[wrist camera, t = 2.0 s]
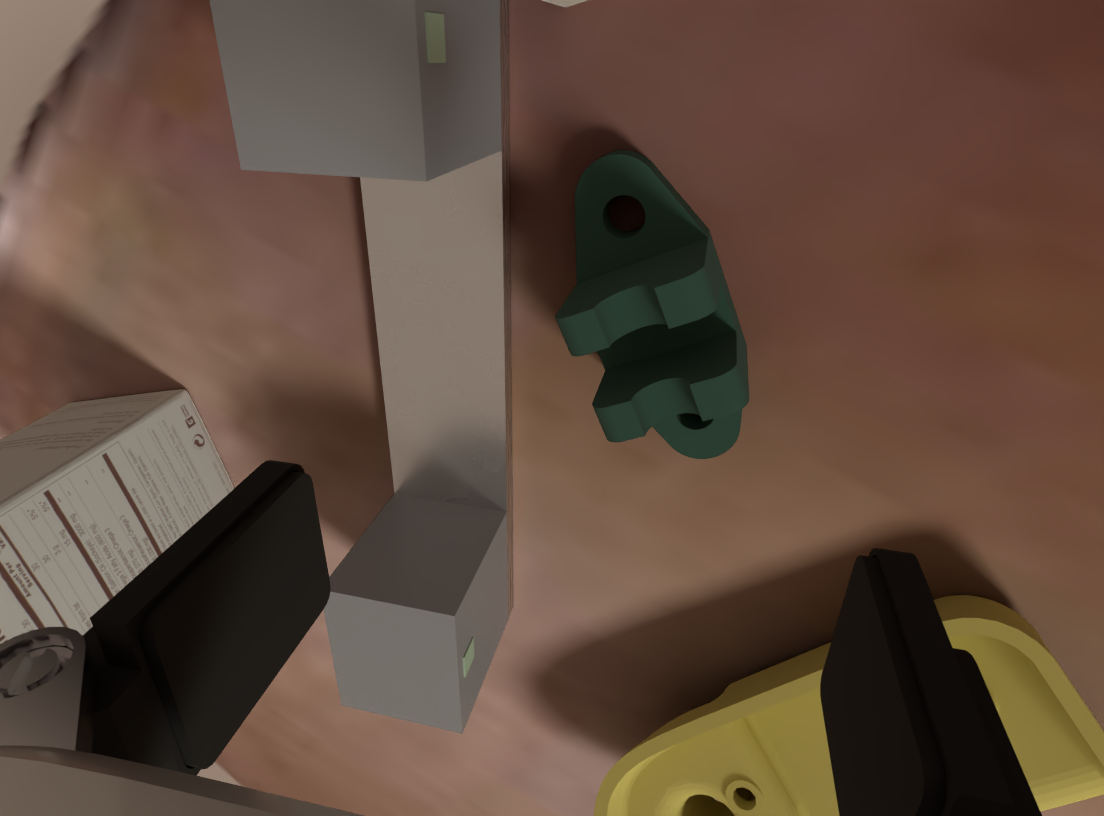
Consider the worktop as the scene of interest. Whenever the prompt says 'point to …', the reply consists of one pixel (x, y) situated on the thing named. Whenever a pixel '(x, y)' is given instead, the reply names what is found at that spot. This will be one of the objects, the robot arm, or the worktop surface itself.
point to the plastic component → (801, 742)
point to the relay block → (564, 2)
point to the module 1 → (362, 84)
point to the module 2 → (420, 610)
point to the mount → (654, 314)
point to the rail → (447, 326)
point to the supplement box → (98, 502)
